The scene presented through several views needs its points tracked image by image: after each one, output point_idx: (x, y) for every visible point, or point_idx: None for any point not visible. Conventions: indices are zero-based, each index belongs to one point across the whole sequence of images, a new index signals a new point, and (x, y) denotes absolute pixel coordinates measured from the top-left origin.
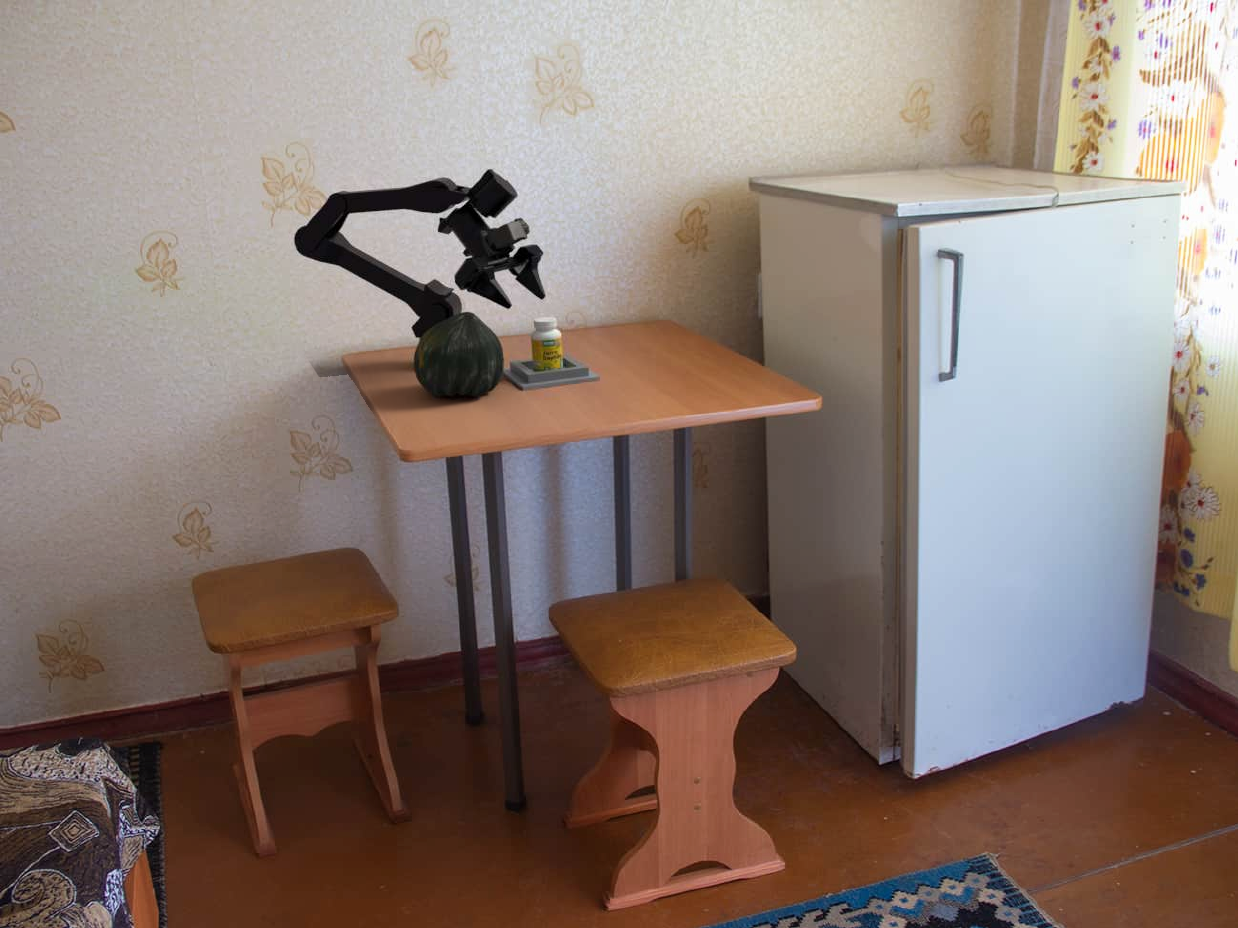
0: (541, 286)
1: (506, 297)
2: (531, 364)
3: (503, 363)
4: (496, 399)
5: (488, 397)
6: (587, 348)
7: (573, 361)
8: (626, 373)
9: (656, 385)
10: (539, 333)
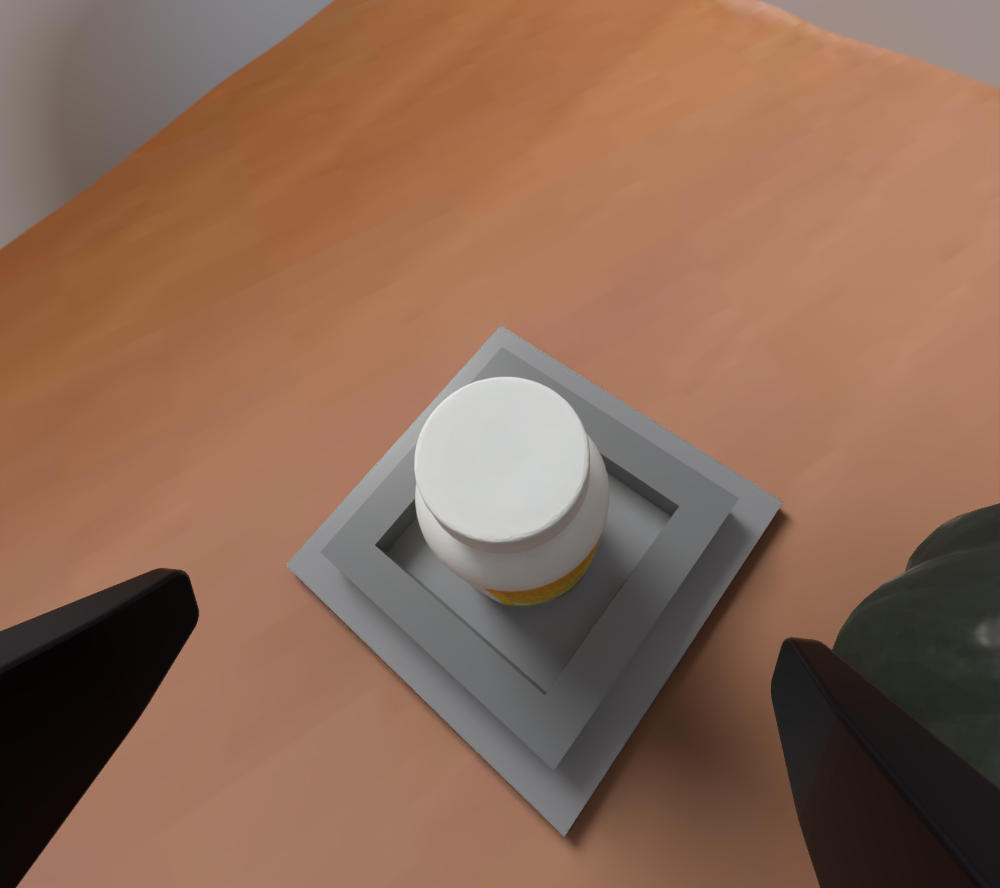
0: (31, 628)
1: (889, 722)
2: (498, 652)
3: (969, 512)
4: None
5: None
6: None
7: None
8: (388, 305)
9: (493, 168)
10: (590, 477)
